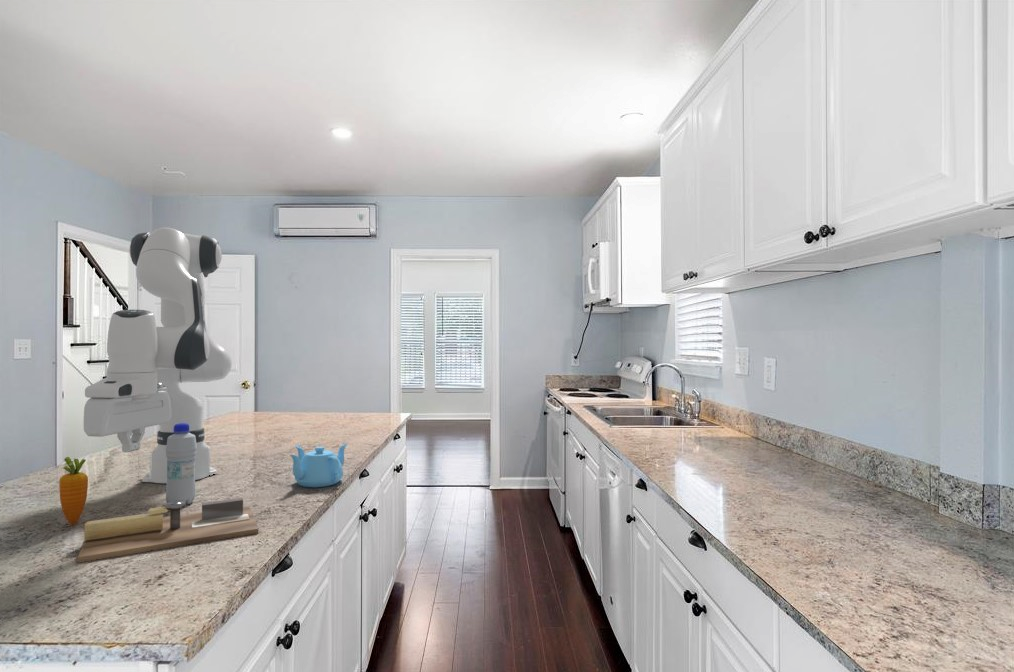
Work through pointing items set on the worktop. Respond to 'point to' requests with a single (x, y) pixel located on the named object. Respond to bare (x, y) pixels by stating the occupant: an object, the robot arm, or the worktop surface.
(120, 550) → the latch board
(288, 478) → the worktop surface
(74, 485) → the carrot
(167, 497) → the bottle
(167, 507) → the swing bar
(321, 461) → the teapot
